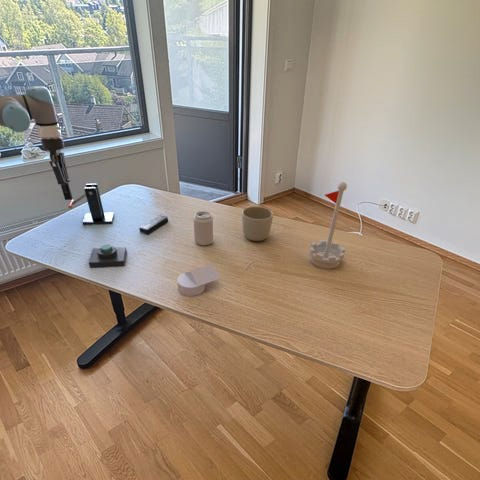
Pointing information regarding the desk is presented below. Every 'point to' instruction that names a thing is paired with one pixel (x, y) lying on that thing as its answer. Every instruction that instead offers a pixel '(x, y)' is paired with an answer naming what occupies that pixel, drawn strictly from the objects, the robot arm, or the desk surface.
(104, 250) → the button
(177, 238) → the desk surface
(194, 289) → the wedge on round base
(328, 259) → the flag stand
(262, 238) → the planter
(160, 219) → the multiport hub
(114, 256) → the button box
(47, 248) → the desk surface
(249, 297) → the desk surface
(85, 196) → the lever
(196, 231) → the can
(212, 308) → the desk surface
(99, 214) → the bracket
